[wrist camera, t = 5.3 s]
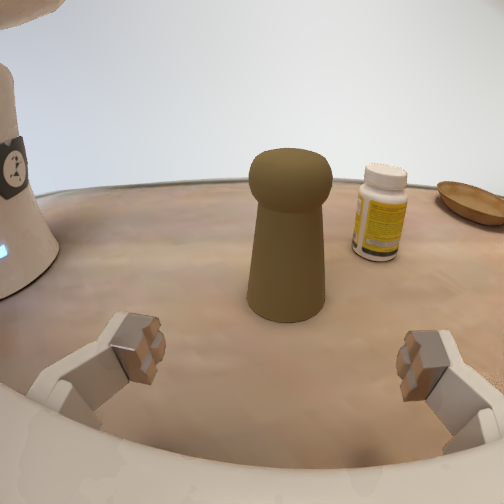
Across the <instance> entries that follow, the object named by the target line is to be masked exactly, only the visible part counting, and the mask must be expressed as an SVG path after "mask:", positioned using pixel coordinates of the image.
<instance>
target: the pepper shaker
mask: <svg viewBox="0 0 504 504" xmlns="http://www.w3.org/2000/svg"><path fill="white" fill-rule="evenodd" d="M332 179H333V176H332V171H331V168H330V166H329V164H328V162H327V160H326V158H324V157H323V156H321V155H320V154H318V153H315V152H312V151H308V150H304V149H296V148H280V149H274V150H268V151H264V152H263V153H261V154H259V155H258V156H256V157H255V159H254V160H253V162H252V164H251V167H250V172H249V186H250V189H251V192H252V194H253V196H254V197H255V198H256V200H257V201H258V210H257V219H256V227H255V235H254V243H253V251H252V259H251V267H250V276H249V284H248V292H247V301H248V303H249V306H250V307H251V308H252V309H253V311H254V312H255V313H256V314H258V315H260V316H262V317H264V318H265V319H268V320H272V321H276V322H285V323H294V322H298V321H303V320H307V319H309V318H310V317H312V316H314V315H316V314H317V313H318V312H319V311H320V310H321V309H322V307H323V304H324V301H325V271H324V240H323V219H322V204H323V203H324V202H325V201H326V199H327V198H328V196H329V193H330V190H331V187H332Z"/></svg>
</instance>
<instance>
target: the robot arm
mask: <svg viewBox="0 0 504 504" xmlns="http://www.w3.org/2000/svg"><path fill="white" fill-rule="evenodd" d="M64 1H65V0H0V30H3V29H7V28H10V27H14V26H18V25H21V24H24V23H26V22H29V21H31V20H34V19H37V18H39V17H41V16H44V15H47V14H49V13H52V12H54V11H56V10H57V9H58V8H59V7H60V6H61V4H62V3H63V2H64ZM17 136H19V132H18V126H17V118H16V109H15V96H14V81H13V77H12V74H11V72H10V71H9V69H8V68H7V67H6V66H4V65H3V64H1V63H0V299H2V298H4V297H7V296H9V295H11V294H13V293H15V292H16V291H18V290H20V289H21V288H23V287H25V286H26V285H28V284H29V283H30V282H32V281H33V280H34V279H36V278H37V277H38V276H39V275H40V274H42V273H43V272H44V271H45V270H46V269H47V268H48V267H49V265H50V264H51V263H52V262H53V260H54V259H55V257H56V256H57V253H58V251H59V244H58V242H57V240H56V239H55V237H54V236H53V234H52V233H51V231H50V229H49V228H48V226H47V224H46V222H45V220H44V218H43V216H42V213H41V211H40V209H39V206H38V204H37V201H36V199H35V196H34V194H33V191H32V189H31V186H30V183H29V180H28V167H27V164H28V162H27V157H26V152H25V146H24V143H23V137H21V136H19V137H17ZM15 137H16V138H15ZM12 138H13V139H12ZM160 326H161V324H160V321H159V318H157V317H154V316H148V315H142V314H136V313H129V312H123V311H117V312H115V313H114V315H113V316H112V318H111V319H110V321H109V322H108V324H107V325H106V327H105V328H104V330H103V331H102V333H101V334H100V336H99V337H98V339H97V340H96V342H90V343H89V344H87V345H85V346H83V347H82V348H80V349H78V350H76V351H75V352H73V353H71V354H69V355H67V356H66V357H64V358H62V359H60V360H59V361H57V362H55V363H53V364H52V365H50V366H48V367H46V368H45V369H43V370H42V371H41V372H40V374H39V375H38V377H37V378H36V380H35V381H34V383H33V385H32V386H31V388H30V389H29V391H28V392H27V394H26V396H23V395H22V394H20V393H18V392H16V391H15V390H13V389H11V388H9V387H8V386H6V385H4V384H3V383H1V382H0V504H504V395H503V394H502V393H501V392H500V391H499V390H498V389H496V388H495V387H494V386H493V385H492V384H491V383H490V382H488V381H487V380H486V379H485V378H484V377H482V376H481V375H480V374H479V373H478V372H477V371H475V370H474V369H473V368H472V367H471V366H469V365H468V364H466V365H465V364H464V362H463V359H462V357H461V354H460V352H459V350H458V347H457V345H456V343H455V340H454V338H453V336H452V334H451V332H450V330H448V329H439V330H419V331H409V332H408V333H407V334H406V336H405V338H404V341H405V345H404V346H403V347H401V348H400V350H399V352H398V355H397V361H396V368H397V374H398V376H399V377H400V378H401V379H402V380H403V381H402V383H401V385H400V388H401V392H402V397H403V402H408V401H421V400H426V401H425V402H426V403H427V404H428V405H429V407H430V408H431V409H432V410H433V412H434V413H435V414H436V415H437V417H438V418H439V419H440V420H441V421H442V423H443V424H444V425H445V426H446V428H447V429H448V430H449V431H450V433H451V434H452V435H453V438H452V439H451V440H450V441H449V442H448V443H447V444H445V446H444V447H443V454H444V455H443V456H438V457H433V458H428V459H423V460H417V461H412V462H405V463H398V464H391V465H382V466H373V467H361V468H344V469H290V468H272V467H260V466H250V465H241V464H234V463H226V462H220V461H214V460H208V459H202V458H197V457H192V456H187V455H183V454H178V453H174V452H170V451H165V450H161V449H158V448H154V447H150V446H147V445H143V444H140V443H136V442H133V441H130V440H127V439H123V438H120V437H117V436H114V435H112V434H109V433H106V432H103V431H100V430H99V429H100V427H101V425H102V423H101V420H100V419H99V418H98V417H97V416H96V414H95V413H94V412H93V411H95V410H96V409H97V408H98V407H100V406H101V405H102V404H103V403H105V402H106V401H107V400H108V399H109V398H111V397H112V396H113V395H114V394H116V393H117V392H118V391H119V390H121V389H122V388H123V387H124V386H125V385H127V384H128V383H129V381H132V382H137V383H142V384H147V385H151V384H152V382H153V380H154V377H155V375H156V373H157V371H158V370H157V367H156V364H157V363H159V362H160V361H162V359H163V357H164V354H165V348H166V342H165V337H164V334H163V333H161V332H160V331H159V328H160Z"/></svg>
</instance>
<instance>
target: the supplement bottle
mask: <svg viewBox="0 0 504 504" xmlns="http://www.w3.org/2000/svg"><path fill="white" fill-rule="evenodd" d="M364 181H365V182H366V183H364V184H363V185H361V187H360V189H359V195H358V204H357V212H356V219H355V227H354V234H353V241H352V247H353V249H354V251H355V252H356V253H357V254H359V255H360V256H362V257H364V258H366V259H369V260H373V261H387V260H390V259H392V258H394V257H395V255H396V254H397V251H398V246H399V241H400V237H401V232H402V227H403V222H404V217H405V212H406V206H407V200H408V197H407V194H406V192H405V191H404V190H403V189H405V188H406V185H407V172H406V171H405V170H402V169H401V168H398V167H395V166H391V165H386V164H368V165H366V167H365V175H364Z"/></svg>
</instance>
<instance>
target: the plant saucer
mask: <svg viewBox="0 0 504 504" xmlns="http://www.w3.org/2000/svg"><path fill="white" fill-rule="evenodd" d="M437 188H438V191H439V193H440V195H441V197H442V199H443V200H444V202H445V204H446V205H447V206H448V207H449V208H450V209H451V210H452V211H454V212H455V213H457V214H458V215H460V216H462V217H464V218H466V219H469V220H471V221H474V222H477V223H480V224H484V225H491V226H495V225H500V224H502V223H504V200H503V199H501V198H500V197H498V196H496V195H494V194H492V193H489V192H488V191H485V190H483V189H480V188H477V187H474V186H471V185H467V184H464V183H458V182H449V181H444V182H440V183H438V184H437Z"/></svg>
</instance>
